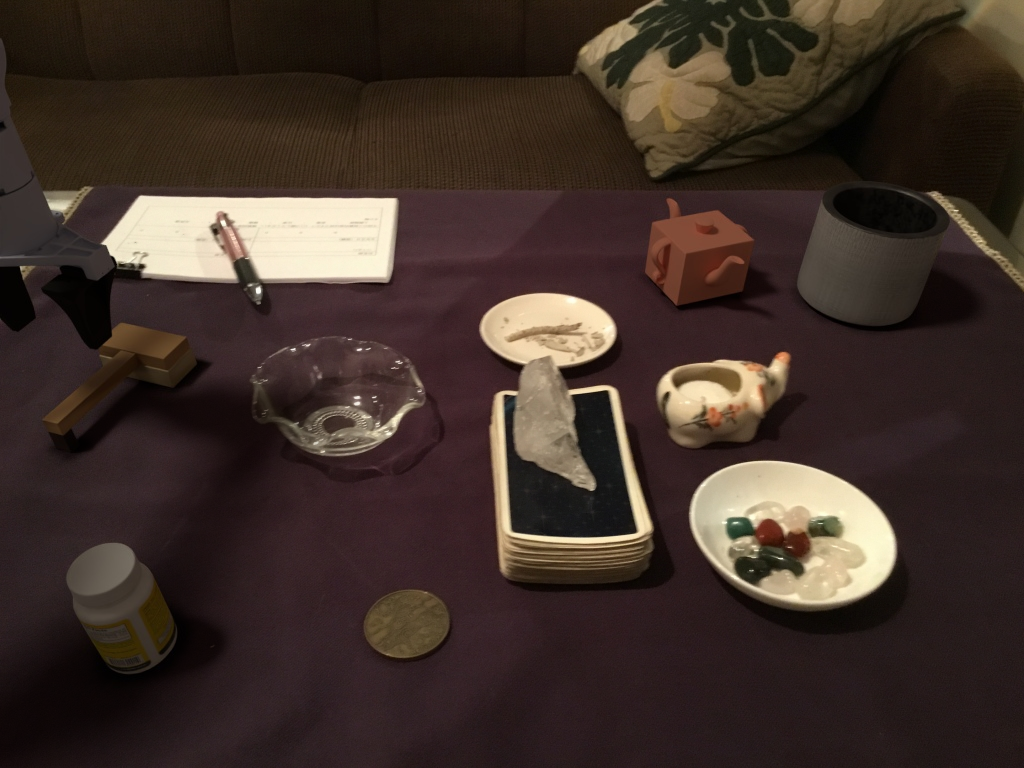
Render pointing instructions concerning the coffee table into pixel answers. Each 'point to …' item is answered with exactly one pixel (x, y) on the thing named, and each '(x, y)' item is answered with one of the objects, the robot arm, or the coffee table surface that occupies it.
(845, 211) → the planter
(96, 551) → the supplement bottle
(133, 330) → the brown t-shaped piece
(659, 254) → the teapot
